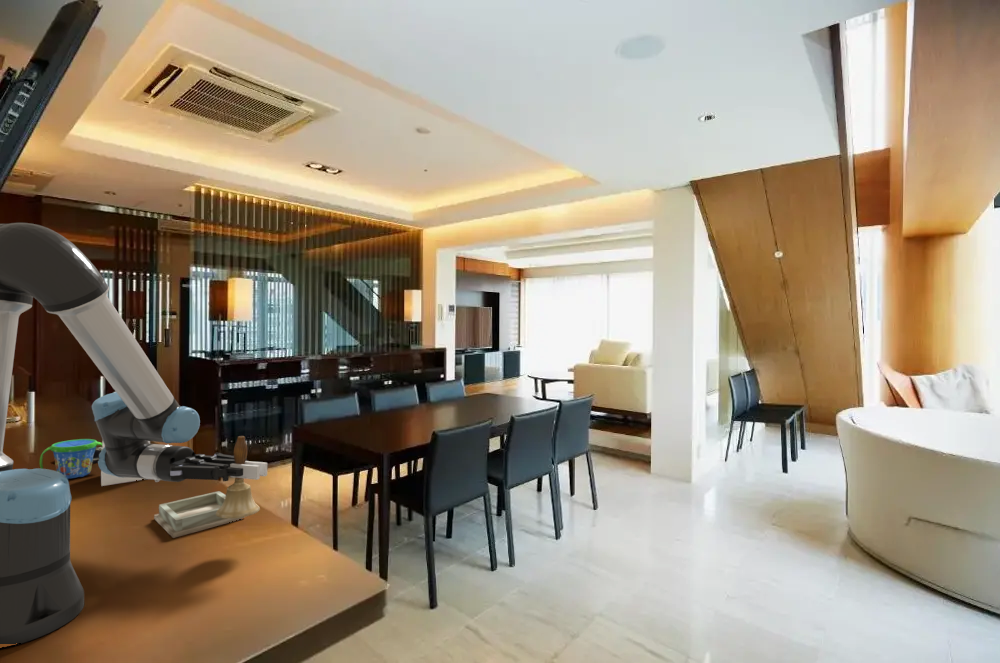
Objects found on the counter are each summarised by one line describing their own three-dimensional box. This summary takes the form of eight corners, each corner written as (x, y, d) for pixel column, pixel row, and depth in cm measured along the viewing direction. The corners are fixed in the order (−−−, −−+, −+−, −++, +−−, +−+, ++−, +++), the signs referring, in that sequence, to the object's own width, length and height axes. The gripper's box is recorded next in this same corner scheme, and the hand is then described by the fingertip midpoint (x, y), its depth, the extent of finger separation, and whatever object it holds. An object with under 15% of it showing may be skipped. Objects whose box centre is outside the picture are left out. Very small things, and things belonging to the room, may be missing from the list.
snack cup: (109, 467, 160) (108, 436, 159) (105, 476, 151) (105, 443, 151) (43, 475, 151) (43, 442, 151) (36, 485, 142) (35, 450, 142)
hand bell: (252, 502, 111) (254, 431, 111) (265, 512, 105) (266, 437, 105) (211, 511, 106) (212, 435, 106) (221, 522, 100) (223, 442, 100)
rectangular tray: (244, 518, 121) (244, 504, 121) (173, 538, 110) (173, 522, 110) (221, 502, 131) (221, 489, 131) (154, 519, 120) (154, 504, 120)
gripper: (195, 471, 117) (284, 478, 112) (137, 490, 102) (236, 500, 97) (196, 438, 117) (285, 445, 112) (137, 453, 102) (237, 462, 97)
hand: (262, 471), depth 104 cm, fingers closed on hand bell, 2 cm apart
